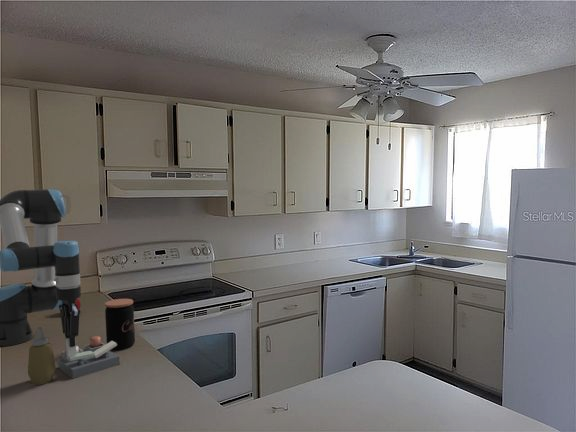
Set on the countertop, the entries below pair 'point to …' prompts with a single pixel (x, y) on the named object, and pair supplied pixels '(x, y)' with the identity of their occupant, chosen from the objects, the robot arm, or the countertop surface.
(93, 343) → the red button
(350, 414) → the countertop surface
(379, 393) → the countertop surface
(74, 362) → the panel
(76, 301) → the apple
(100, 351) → the block
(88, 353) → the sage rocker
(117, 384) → the countertop surface
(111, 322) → the coffee jar
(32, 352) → the squeeze bottle
